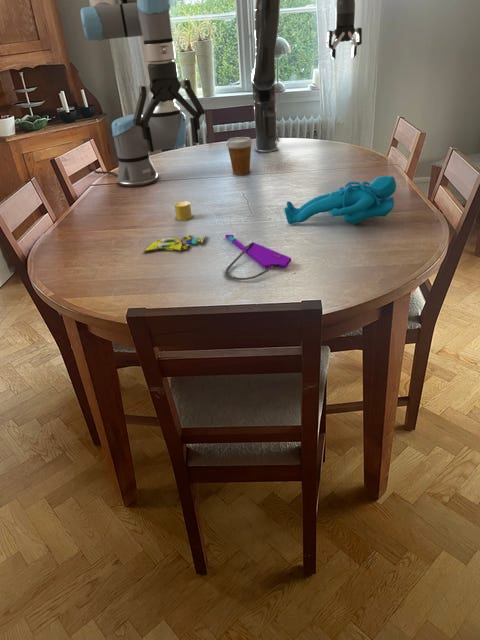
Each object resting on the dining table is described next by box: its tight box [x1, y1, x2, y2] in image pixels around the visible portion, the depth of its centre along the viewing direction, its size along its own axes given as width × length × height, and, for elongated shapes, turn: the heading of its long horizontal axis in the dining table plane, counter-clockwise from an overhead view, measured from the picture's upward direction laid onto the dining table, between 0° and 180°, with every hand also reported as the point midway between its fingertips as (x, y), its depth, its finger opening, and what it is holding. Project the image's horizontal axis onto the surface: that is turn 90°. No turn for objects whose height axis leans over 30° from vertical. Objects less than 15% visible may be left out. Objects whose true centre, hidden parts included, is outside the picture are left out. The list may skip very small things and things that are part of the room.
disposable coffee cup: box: [226, 136, 253, 176], centre depth 180 cm, size 10×10×12 cm
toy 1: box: [144, 234, 207, 254], centre depth 130 cm, size 10×1×15 cm
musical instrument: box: [224, 234, 292, 281], centre depth 118 cm, size 24×2×20 cm
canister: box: [174, 200, 193, 221], centre depth 146 cm, size 5×5×4 cm
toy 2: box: [283, 175, 397, 225], centre depth 132 cm, size 17×11×30 cm
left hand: (173, 146), depth 136 cm, fingers open, 13 cm apart
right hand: (343, 58), depth 199 cm, fingers open, 8 cm apart
